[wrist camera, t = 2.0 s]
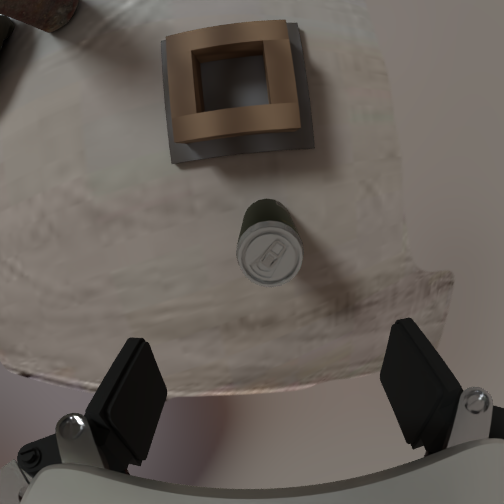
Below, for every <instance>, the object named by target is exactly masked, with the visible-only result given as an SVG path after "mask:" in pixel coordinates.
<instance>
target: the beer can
mask: <svg viewBox="0 0 504 504" xmlns="http://www.w3.org/2000/svg"><path fill="white" fill-rule="evenodd" d="M303 255H304V251H303V243H302V241H301V239H300V236H299V234H298V232H297V230H296V228H295V225H294V223H293V221H292V219H291V217H290V215H289V213H288V211H287V209H286V208H285V207H284V206H283V205H282V204H281V203H280V202H278V201H276V200H273V199H262V200H258V201H256V202H254V203H253V204H252V205H251V206H250V207H249V208H248V209H247V211H246V213H245V215H244V219H243V223H242V227H241V231H240V235H239V239H238V243H237V251H236V256H237V261H238V264H239V266H240V269H241V271H242V272H243V274H244V275H245V277H247V278H248V279H249V280H250V281H251V282H253V283H255V284H257V285H260V286H264V287H276V286H281V285H283V284H285V283H287V282H289V281H290V280H291V279H292V278H293V277H295V276H296V274H297V273H298V271H299V269H300V268H301V264H302V259H303Z"/></svg>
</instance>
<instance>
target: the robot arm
mask: <svg viewBox="0 0 504 504" xmlns="http://www.w3.org/2000/svg"><path fill="white" fill-rule="evenodd" d="M380 381H381V383H382V385H383V388H384V390H385V392H386V395H387V397H388V399H389V401H390V404H391V406H392V408H393V411H394V413H395V415H396V418H397V420H398V423H399V425H400V428H401V430H402V433H403V435H404V438H405V440H406V442H407V443H408V444H411V446H412V449H416V448H418V447H421V446H424V447H425V450H426V453H425V455H424V457H423V458H421V459H418V460H415V461H412V462H409V463H406V464H403V465H400V466H397V467H393V468H390V469H387V470H383V471H380V472H376V473H372V474H368V475H365V476H360V477H356V478H351V479H347V480H341V481H336V482H330V483H323V484H318V485H309V486H300V487H289V488H275V489H223V488H207V487H197V486H188V485H180V484H173V483H167V482H162V481H156V480H151V479H146V478H141V477H136V476H132V475H130V474H129V472H128V470H127V468H128V465H129V464H133V465H137V466H141V463H142V460H146V458H147V455H148V452H149V449H150V446H151V443H152V440H153V436H154V433H155V430H156V427H157V424H158V421H159V418H160V415H161V412H162V409H163V406H164V403H165V400H166V397H167V388H166V386H165V383H164V381H163V378H162V376H161V373H160V371H159V368H158V366H157V363H156V361H155V358H154V355H153V353H152V350H151V347H150V345H149V343H148V342H145V340H144V339H143V338H129V339H128V340H127V341H126V343H125V345H124V346H123V348H122V349H121V351H120V353H119V354H118V356H117V357H116V359H115V361H114V362H113V364H112V366H111V367H110V369H109V371H108V372H107V374H106V376H105V377H104V379H103V381H102V382H101V384H100V386H99V388H98V389H97V391H96V393H95V395H94V396H93V398H92V400H91V402H90V403H89V405H88V407H87V409H86V413H85V415H84V416H83V415H81V414H79V413H71V414H67V415H65V416H63V417H62V418H61V419H60V420H59V421H58V423H57V425H56V428H55V430H56V433H55V434H53V435H50V436H48V437H45V438H43V439H40V440H37V441H34V442H31V443H29V444H26V445H24V446H23V447H22V448H21V449H20V451H19V452H18V456H17V461H16V460H14V459H13V460H12V461H11V462H9V463H8V464H6V465H5V466H4V467H2V468H1V469H0V504H504V408H501V407H497V406H493V400H492V397H491V395H490V394H489V393H488V392H487V391H486V390H484V389H482V388H480V387H470V388H468V389H466V390H464V391H463V389H462V388H461V386H460V384H459V382H458V381H457V379H456V378H455V376H454V375H453V373H452V372H451V370H450V369H449V368H448V366H447V365H446V363H445V362H444V361H443V359H442V358H441V356H440V355H439V354H438V352H437V351H436V350H435V348H434V347H433V346H432V344H431V343H430V342H429V340H428V339H427V338H426V336H425V335H424V334H423V332H422V331H421V330H420V329H419V327H418V326H417V325H416V323H415V322H414V321H413V320H412V319H411V318H405V319H400V320H397V321H396V322H395V324H393V325H392V327H391V331H390V336H389V340H388V345H387V349H386V353H385V357H384V361H383V365H382V369H381V372H380Z"/></svg>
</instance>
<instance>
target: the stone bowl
mask: <svg viewBox="0 0 504 504" xmlns="http://www.w3.org/2000/svg"><path fill="white" fill-rule="evenodd" d="M13 29H14V24H13V23H12V21H11V20H10V18H9V17H7V16H4V15H0V50H1V47H2V45H3V40H4V39H6V38H8V37H9V36H10V35H11V33H12V31H13Z"/></svg>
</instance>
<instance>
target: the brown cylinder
mask: <svg viewBox="0 0 504 504" xmlns="http://www.w3.org/2000/svg"><path fill="white" fill-rule="evenodd" d="M78 3H79V0H0V14H2V15H5V16H8V17H11V18H14V19H16V20H19V21H22V22H24V23H26V24H29V25H31V26H34V27H36V28H38V29H41V30H43V31H45V32H48V33H51V32H53V31H54V30H57V29H59V28H60V27H62V26H63V25H65V24H66V23H67V22H68V21H69V20H70V19H71V17H72V16H73V13H74V11H75V10H76V8H77V5H78Z"/></svg>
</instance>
